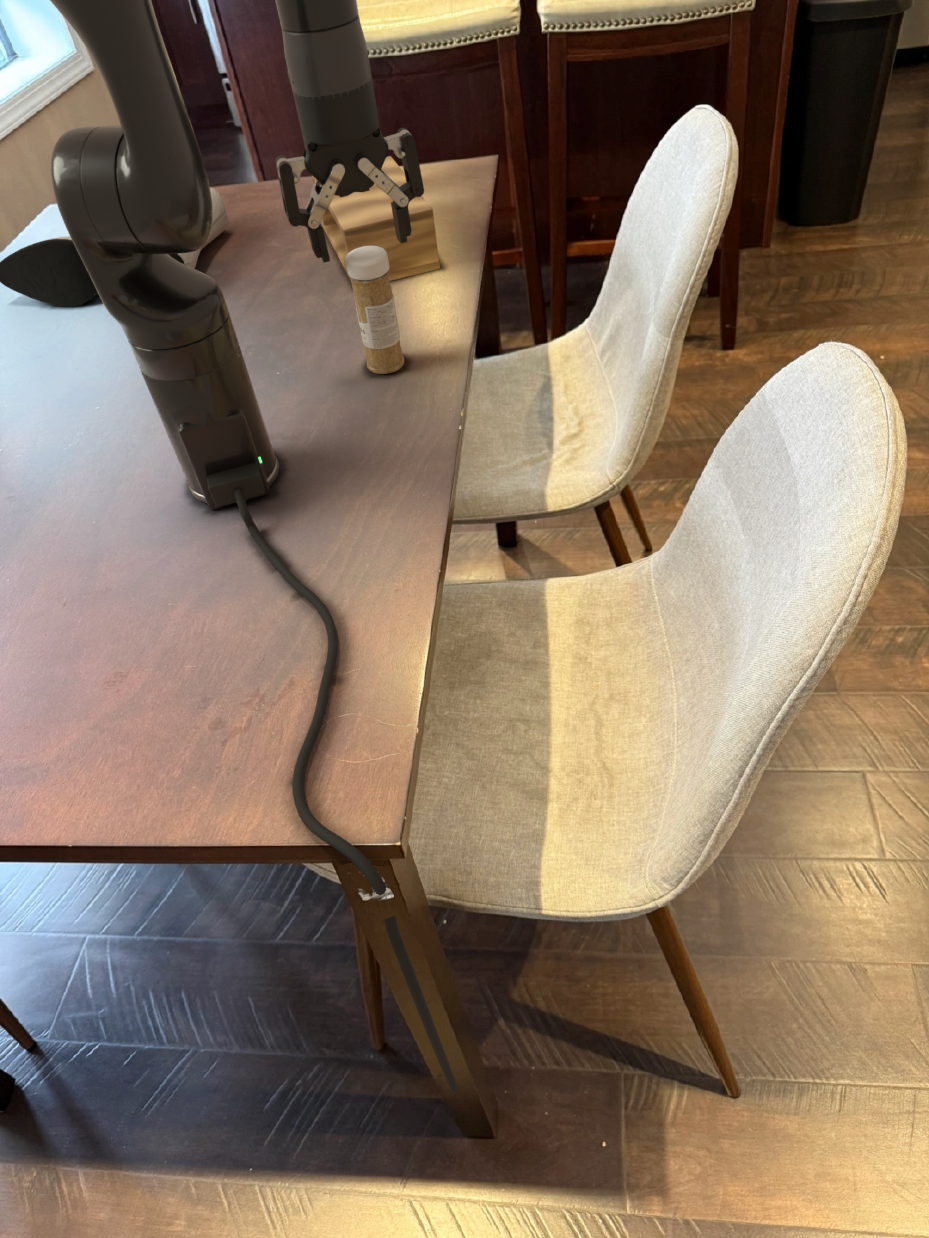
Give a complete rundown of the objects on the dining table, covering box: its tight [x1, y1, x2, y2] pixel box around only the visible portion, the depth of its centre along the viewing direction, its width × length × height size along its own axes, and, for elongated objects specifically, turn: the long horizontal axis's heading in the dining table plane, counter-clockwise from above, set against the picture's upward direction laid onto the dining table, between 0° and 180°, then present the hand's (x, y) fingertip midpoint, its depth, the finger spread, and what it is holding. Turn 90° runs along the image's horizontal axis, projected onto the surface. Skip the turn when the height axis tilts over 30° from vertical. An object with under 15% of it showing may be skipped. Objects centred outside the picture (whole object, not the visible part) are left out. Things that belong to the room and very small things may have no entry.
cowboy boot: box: [0, 186, 230, 308], centre depth 126 cm, size 10×28×25 cm
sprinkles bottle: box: [345, 246, 405, 375], centre depth 97 cm, size 5×5×14 cm
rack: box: [311, 155, 441, 282], centre depth 122 cm, size 22×12×8 cm, turn 18°
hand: (364, 250), depth 92 cm, fingers open, 8 cm apart
